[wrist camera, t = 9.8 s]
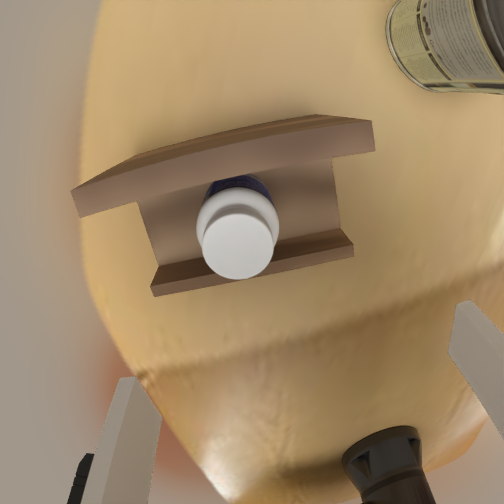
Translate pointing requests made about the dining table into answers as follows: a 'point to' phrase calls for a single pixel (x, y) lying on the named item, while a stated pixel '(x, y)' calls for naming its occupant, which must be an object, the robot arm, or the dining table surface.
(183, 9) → the dining table surface
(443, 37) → the coffee can
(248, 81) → the dining table surface
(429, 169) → the dining table surface
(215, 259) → the pill bottle
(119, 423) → the robot arm
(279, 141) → the wooden display stand
